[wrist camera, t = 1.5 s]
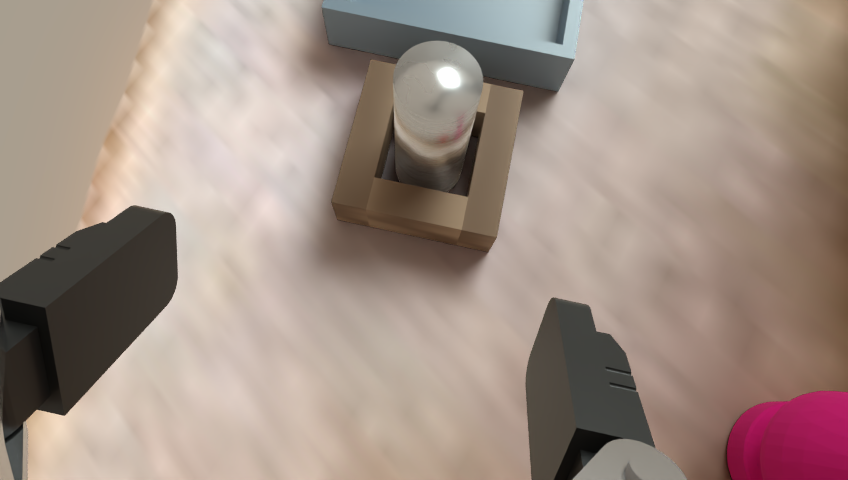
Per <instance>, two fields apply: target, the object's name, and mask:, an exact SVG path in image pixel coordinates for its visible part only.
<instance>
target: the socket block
mask: <svg viewBox="0 0 848 480" xmlns="http://www.w3.org/2000/svg"><path fill="white" fill-rule="evenodd" d="M395 66H396V64H392V63H387V62H382V61H377V60H372V59H371V60H370V64H369V68H368V71H367V75H366V78H365V82H364V86H363V89H362V93H361V97H360V100H359V104H358V107H357V111H356V115H355V118H354V122H353V125H352V129H351V133H350V136H349V140H348V143H347V147H346V151H345V154H344V158H343V161H342V165H341V169H340V172H339V176H338V180H337V183H336V187H335V190H334V194H333V198H332V201H331V203H332V205H333V208H334V211H335V214H336V217H337V220H341V221H346V222H351V223H355V224H360V225H365V226H369V227H374V228H379V229H383V230H388V231H393V232H397V233H402V234H407V235H411V236H416V237H421V238H425V239H430V240H435V241H439V242H444V243H449V244H453V245H458V246H463V247H467V248H472V249H477V250H481V251H486V252H489V250H490V248H491V247H492V245H493V243H494V241H495V240H496V238H497V233H498V228H499V222H500V217H501V211H502V206H503V201H504V195H505V190H506V184H507V179H508V173H509V168H510V162H511V157H512V151H513V146H514V140H515V135H516V129H517V124H518V119H519V113H520V108H521V102H522V97H523V91H522V90H517V89H512V88H507V87H502V86H498V85H493V84H488V83H483V89H482V93H481V97H480V101H479V104H478V108H477V112H476V116H475V120H474V124H473V128H472V132H471V136H475V137H478V141H477V146H476V151H475V156H474V161H473V166H472V171H471V176H470V181H469V186H468V191H467V195H466V197H465V196H461V195H456V194H451V193H447V192H442V191H437V190H433V189H428V188H423V187H418V186H414V185H409V184H404V183H400V182H395V181H390V180H385V179H381V178H382V174H383V170H384V166H385V162H386V158H387V154H388V150H389V146H390V142H391V138H392V134H393V130H394V98H393V74H394V69H395Z"/></svg>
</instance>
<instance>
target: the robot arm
mask: <svg viewBox="0 0 848 480" xmlns="http://www.w3.org/2000/svg"><path fill="white" fill-rule="evenodd" d="M177 279H178V270H177V243H176V222H175V219H174V216H173V215H172V214H171V213H168V212H163V211H159V210H154V209H150V208H145V207H140V206H131V207H129V208H127V209H126V210H124V211H123V212H122V213H120V214H119V215H117V216H116V217H114V218H113V219H112V220H110V221H109V222H107V223H103V222H102V223H99V224H96V225H93V226H91V227H88V228H85V229H82V230H79V231H76V232H75V233H73V234H72V235H70V236H69V237H67V238H66V239H64V240H63V241H61V242H60V243H58V244H57V245H56V248H54V247H52V248H51V249H49V250H48V251H46V252H45V253H43V254H42V255H41V256H40V259H37V258H36V259H34V260H33V261H32V262H30V263H28V264H27V265H26V266H24V267H23V268H21V269H19V270H18V271H17V272H15V273H13V274H12V275H10V276H9V277H8V278H6V279H5V280H3V281H2V282H0V480H28V428H27V424H26V420H27V419H28V418H29V417H30V416H31V415H32V414H33V413H34V412H35V411H36V410H41V411H46V412H50V413H55V414H59V415H64V416H65V415H66V414H67V413H68V412H69V410H70V409H71V408H72V407H73V406H74V405H75V404H76V403H77V402H78V401H79V400H80V399H81V398H82V396H83V395H84V394H85V393H86V392H87V391H88V390H89V389H90V388H91V387H92V386H93V385H94V384H95V382H96V381H97V380H98V379H99V378H100V377H101V376H102V375H103V374H104V373H105V372H106V371H107V369H108V368H109V367H110V366H111V365H112V364H113V363H114V362H115V361H116V360H117V359H118V358H119V357H120V355H121V354H122V353H123V352H124V351H125V350H126V349H127V348H128V347H129V346H130V345H131V344H132V342H133V341H134V340H135V339H136V338H137V337H138V336H139V335H140V334H141V333H142V332H143V331H144V330H145V328H146V327H147V326H148V325H149V324H150V323H151V322H152V321H153V320H154V319H155V318H156V317H157V316H158V314H159V313H160V312H161V311H162V310H163V309H164V308H165V307H166V306H167V305H168V303H169V302H170V300H171V299H172V297H173V294H174V292H175V289H176V285H177ZM526 399H527V415H528V431H529V446H530V462H531V478H532V480H687V478H686V477H685V475H684V474H683V472H682V471H681V470H680V468H679V467H678V466H677V465H676V464H675V463H674V462H673V461H672V460H671V459H670V458H669V457H667V456H666V455H665V454H663V453H662V452H660V451H659V450H657V449H656V448H655V445H654V442H653V439H652V436H651V433H650V429H649V426H648V423H647V420H646V417H645V414H644V410H643V407H642V404H641V401H640V398H639V395H638V392H636V385H635V382H634V379H633V376H631V369H630V366H629V363H628V360H627V357H626V353H625V352H624V351H623V350H622V348H621V347H620V346H619V345H618V343H617V342H616V341H615V340H614V339H613V337H612V336H611V335H610V334H606V333H601V332H597V331H596V328H595V325H594V321H593V317H592V313H591V309H590V307H589V305H586V304H581V303H576V302H572V301H567V300H563V299H558V298H551V300H550V301H549V303H548V306H547V308H546V311H545V314H544V317H543V320H542V322H541V325H540V328H539V331H538V334H537V337H536V340H535V342H534V345H533V348H532V351H531V354H530V357H529V361H528V366H527V372H526Z"/></svg>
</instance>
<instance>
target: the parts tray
mask: <svg viewBox="0 0 848 480" xmlns="http://www.w3.org/2000/svg"><path fill="white" fill-rule="evenodd" d="M583 1H584V0H324V1H323V4H322V12H323V17H324V22H325V27H326V31H327V36H328V41H329V44H331V45H336V46H341V47H345V48H350V49H355V50H360V51H365V52H370V53H374V54H379V55H384V56H389V57H394V58H398V59H400V58H401V56H402V55H403V54H404V53H405V52H406V51H407V50H409V49H410V48H412V47H413V46H415V45H418V44H420V43H423V42H428V41H446V42H450V43H453V44H456V45H458V46H460V47H462V48H464V49H465V50H467V51H468V52H469V53H470V54H471V55H472V56H473V57H474V58H475V59H476V61H477V62H478V64H479V66H480V68H481V71H482V75H483V76H485V77H490V78H495V79H500V80H505V81H509V82H514V83H519V84H524V85H529V86H534V87H538V88H543V89H548V90H553V91H559V89H560V87H561V85H562V83H563V81H564V79H565V77H566V75H567V73H568V71H569V69H570V67H571V65H572V63H573V61H574V59H575V52H576V46H577V40H578V33H579V27H580V20H581V14H582V8H583Z"/></svg>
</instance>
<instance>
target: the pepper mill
mask: <svg viewBox="0 0 848 480" xmlns="http://www.w3.org/2000/svg"><path fill="white" fill-rule="evenodd" d="M727 462H728V467H729V471H730V474H731V478H732V480H848V392H838V391H817V392H812V393H808V394H803V395H801V396H798V397H796V398H794V399H792V400H791V401H783V402H766V403H762V404H758V405H756V406H754V407H752V408H750V409H748V410H747V411H746V412H745V413H744V414H742V415H741V417H740V418H739V419H738V420H737V422H736V423H735V425H734V427H733V429H732V431H731V433H730V436H729V440H728V446H727Z"/></svg>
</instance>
